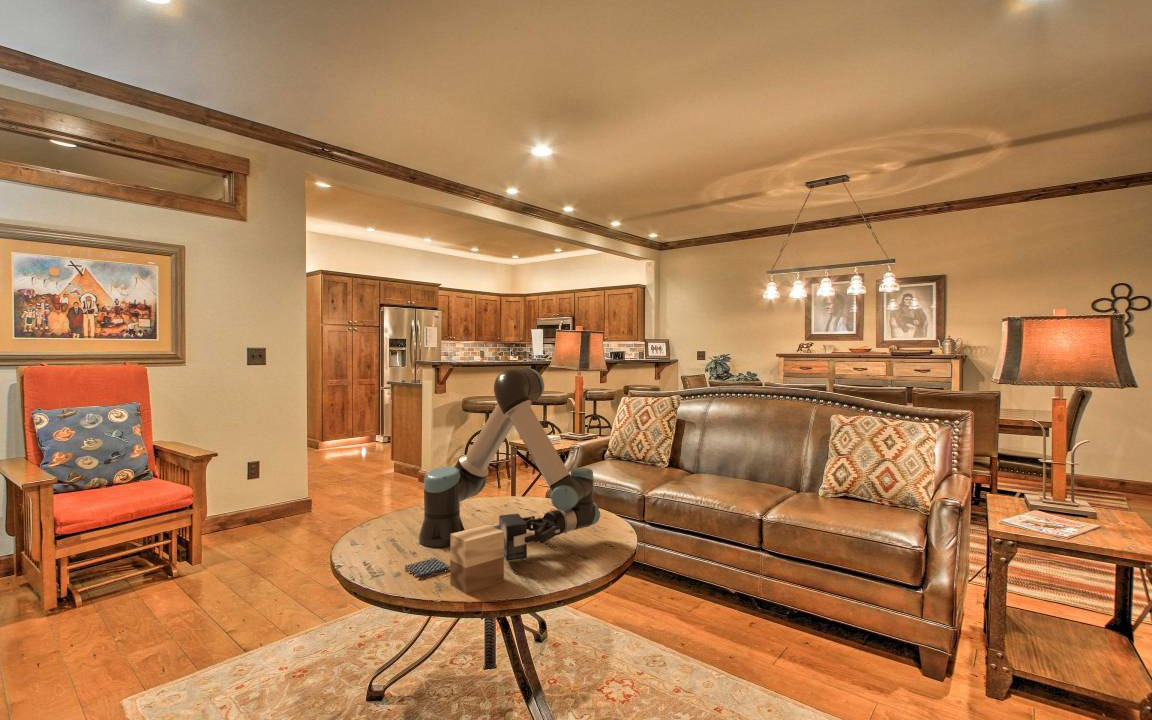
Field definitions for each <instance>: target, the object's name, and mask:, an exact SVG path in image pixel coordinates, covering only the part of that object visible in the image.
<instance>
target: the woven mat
mask: <svg viewBox="0 0 1152 720" xmlns="http://www.w3.org/2000/svg"><path fill="white" fill-rule="evenodd" d="M404 570H405V572H406V571H407V572H409V571H410V572H409V573H412V574H414V576H413V578H418V579H417V580H418V581H421V580H424V579H428V578H432V577H435V576H438V575H437V574H439V575H442V574H445V572H446V573H449V572H450V564H447V563H445V562H443V561H442V560H440V559H438V558H437V557H434V558H432V557H431V558H428V559H425V560H421V561H418V562H417V561H416V562H414V563H412V562H411V563H410V564H408V565H407V564H405V567H404ZM445 570H446V571H445ZM448 571H449V572H448ZM409 573H408V574H409ZM441 573H442V574H441ZM424 576H425V577H424ZM431 576H432V577H431ZM427 577H428V578H427ZM420 579H421V580H420Z"/></svg>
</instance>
